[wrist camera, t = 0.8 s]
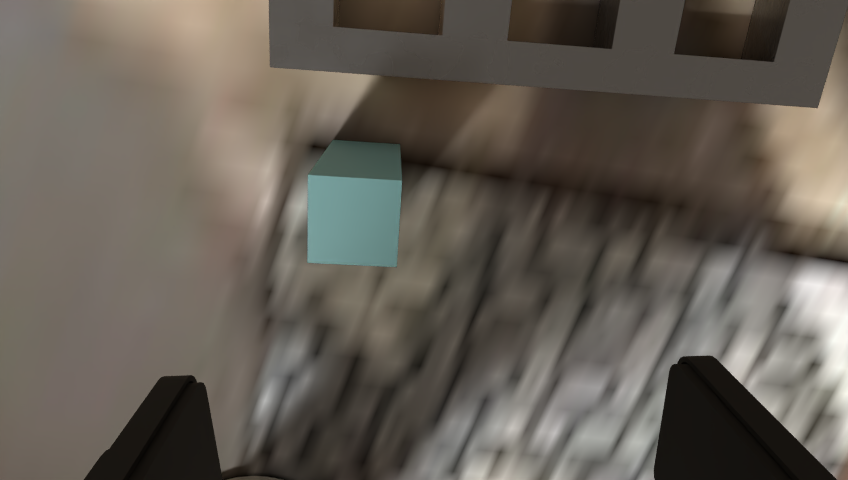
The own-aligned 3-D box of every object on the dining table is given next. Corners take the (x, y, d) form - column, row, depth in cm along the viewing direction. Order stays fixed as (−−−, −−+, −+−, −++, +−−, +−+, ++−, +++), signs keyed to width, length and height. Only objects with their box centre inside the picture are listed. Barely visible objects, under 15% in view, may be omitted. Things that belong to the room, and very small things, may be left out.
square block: (396, 208, 34) (396, 267, 25) (331, 204, 34) (307, 262, 24) (399, 144, 33) (402, 180, 23) (333, 139, 33) (307, 174, 23)
